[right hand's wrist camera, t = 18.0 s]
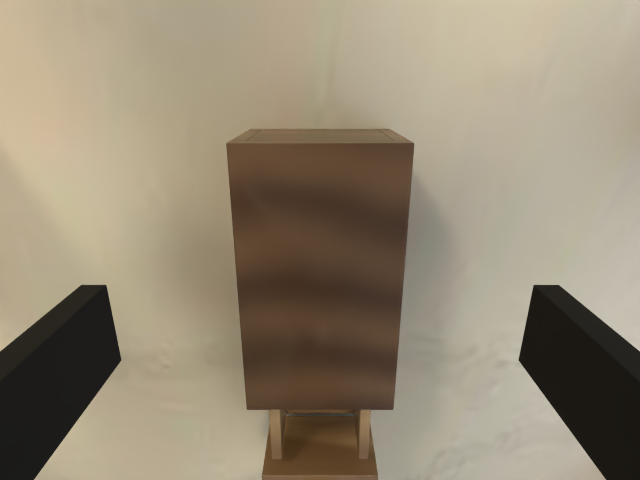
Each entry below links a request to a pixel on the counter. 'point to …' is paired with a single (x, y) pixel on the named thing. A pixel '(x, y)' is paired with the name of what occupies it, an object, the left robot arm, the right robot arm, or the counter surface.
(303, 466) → the drawer
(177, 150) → the counter surface
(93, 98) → the counter surface
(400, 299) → the cabinet
